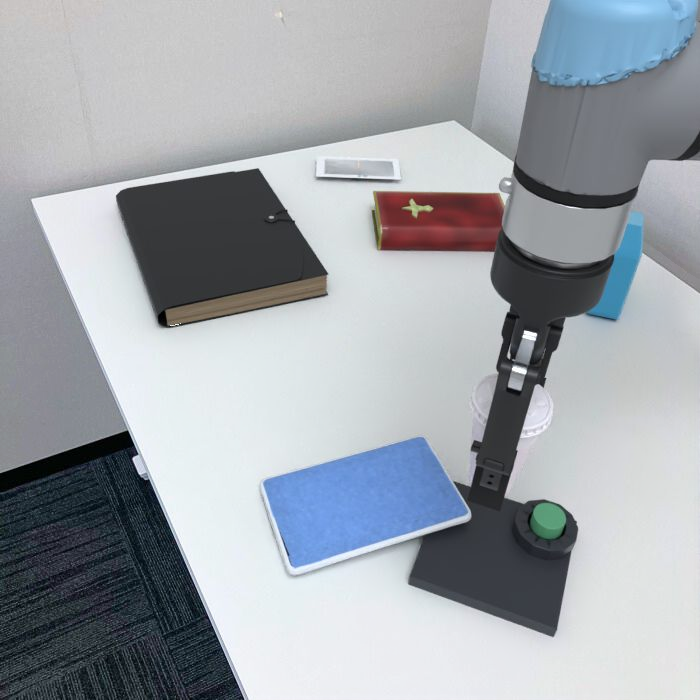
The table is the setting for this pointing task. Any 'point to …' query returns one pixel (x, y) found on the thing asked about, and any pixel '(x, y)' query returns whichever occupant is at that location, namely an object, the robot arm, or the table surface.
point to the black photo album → (217, 247)
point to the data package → (622, 269)
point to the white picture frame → (357, 167)
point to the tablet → (360, 504)
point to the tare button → (547, 521)
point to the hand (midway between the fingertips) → (494, 471)
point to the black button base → (499, 564)
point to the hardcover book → (437, 220)
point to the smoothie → (532, 427)
